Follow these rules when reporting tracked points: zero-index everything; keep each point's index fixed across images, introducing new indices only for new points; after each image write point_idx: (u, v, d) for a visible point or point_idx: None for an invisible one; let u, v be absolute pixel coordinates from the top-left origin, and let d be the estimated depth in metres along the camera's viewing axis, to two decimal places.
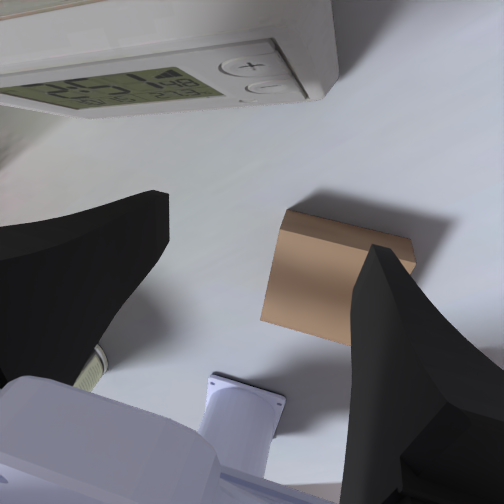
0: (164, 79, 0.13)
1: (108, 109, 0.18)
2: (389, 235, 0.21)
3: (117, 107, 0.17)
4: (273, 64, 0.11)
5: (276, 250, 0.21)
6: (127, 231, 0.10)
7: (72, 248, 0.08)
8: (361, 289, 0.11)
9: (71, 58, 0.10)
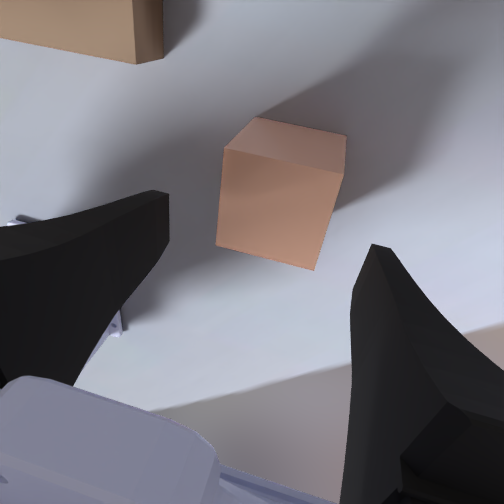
0: None
1: None
2: None
3: None
4: None
5: None
6: (127, 231, 0.10)
7: (72, 248, 0.08)
8: (361, 289, 0.11)
9: None
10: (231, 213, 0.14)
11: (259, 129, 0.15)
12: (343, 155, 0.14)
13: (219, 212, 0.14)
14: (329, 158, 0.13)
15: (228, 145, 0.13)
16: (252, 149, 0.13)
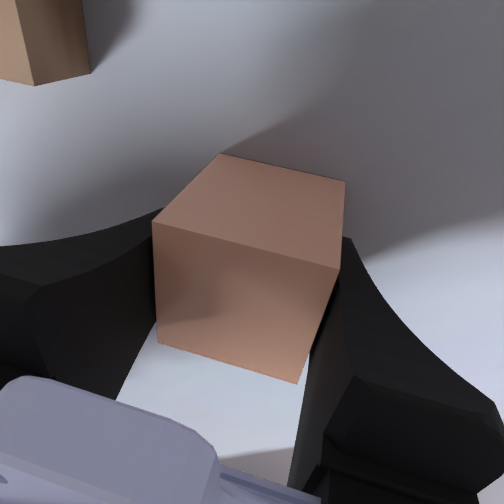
0: None
1: None
2: None
3: None
4: None
5: None
6: None
7: (123, 262, 0.08)
8: None
9: None
10: (174, 306, 0.10)
11: (219, 178, 0.10)
12: (339, 224, 0.09)
13: (157, 304, 0.10)
14: (318, 231, 0.09)
15: (160, 215, 0.08)
16: (197, 222, 0.08)
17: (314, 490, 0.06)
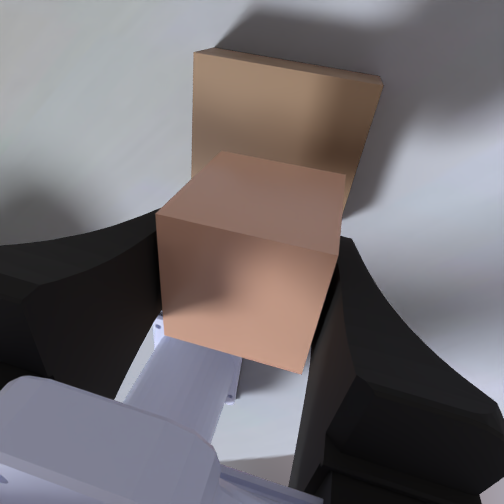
0: None
1: None
2: (350, 71, 0.16)
3: None
4: None
5: (194, 92, 0.15)
6: None
7: (121, 262, 0.08)
8: None
9: None
10: (179, 298, 0.10)
11: (221, 173, 0.11)
12: (339, 214, 0.09)
13: (162, 296, 0.10)
14: (317, 220, 0.09)
15: (164, 208, 0.09)
16: (198, 214, 0.09)
17: (316, 490, 0.06)
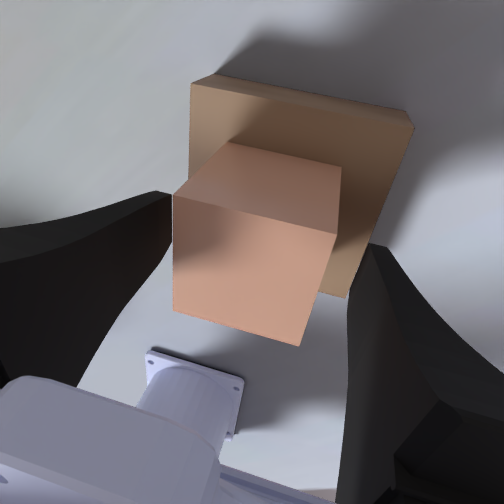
0: None
1: None
2: None
3: None
4: None
5: (191, 127, 0.13)
6: (130, 232, 0.10)
7: (76, 249, 0.08)
8: (358, 288, 0.11)
9: None
10: (189, 275, 0.11)
11: (228, 162, 0.12)
12: (336, 200, 0.10)
13: (174, 273, 0.11)
14: (318, 205, 0.10)
15: (180, 190, 0.10)
16: (212, 196, 0.09)
17: None
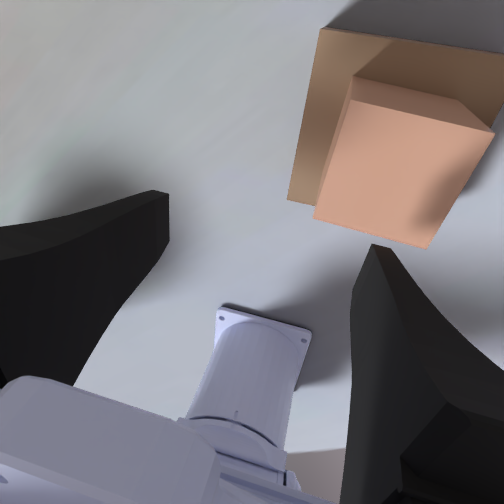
0: None
1: None
2: None
3: None
4: None
5: (313, 71, 0.15)
6: (127, 231, 0.10)
7: (72, 248, 0.08)
8: (361, 289, 0.11)
9: None
10: (341, 180, 0.12)
11: (368, 87, 0.13)
12: (475, 116, 0.12)
13: (326, 179, 0.13)
14: (464, 117, 0.12)
15: (352, 98, 0.11)
16: (380, 104, 0.11)
17: None
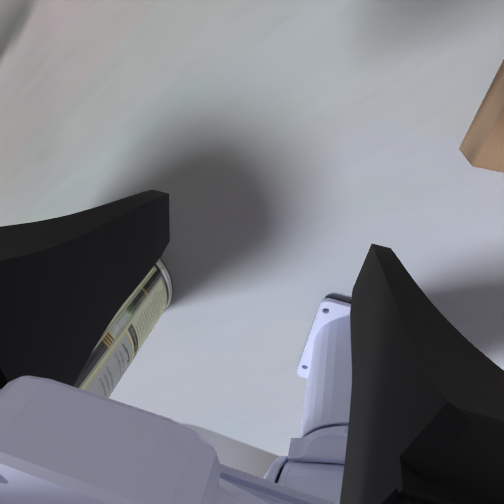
0: None
1: None
2: None
3: None
4: None
5: None
6: (127, 231, 0.10)
7: (72, 248, 0.08)
8: (361, 289, 0.11)
9: None
10: None
11: None
12: None
13: None
14: None
15: None
16: None
17: None
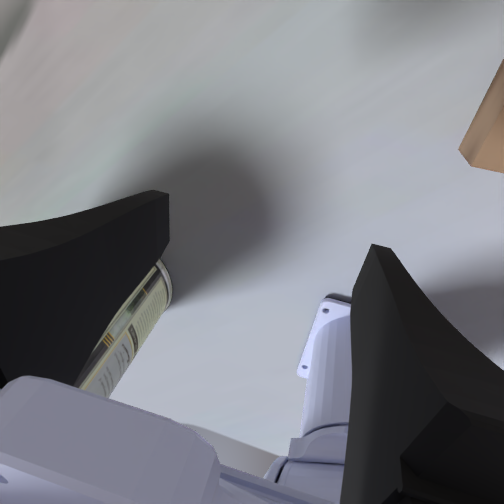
0: None
1: None
2: None
3: None
4: None
5: None
6: (127, 231, 0.10)
7: (72, 248, 0.08)
8: (361, 289, 0.11)
9: None
10: None
11: None
12: None
13: None
14: None
15: None
16: None
17: None
